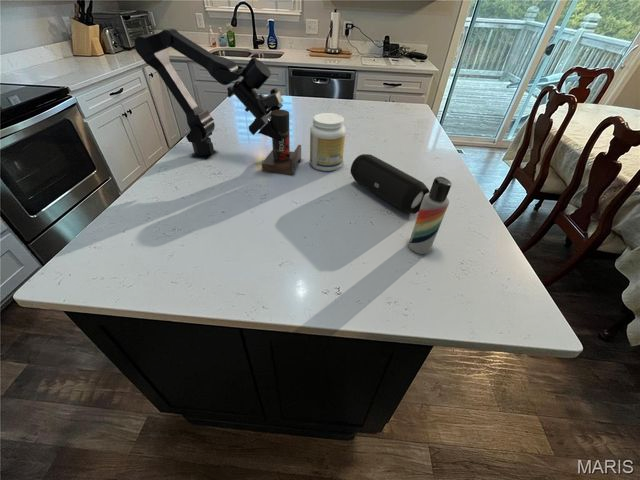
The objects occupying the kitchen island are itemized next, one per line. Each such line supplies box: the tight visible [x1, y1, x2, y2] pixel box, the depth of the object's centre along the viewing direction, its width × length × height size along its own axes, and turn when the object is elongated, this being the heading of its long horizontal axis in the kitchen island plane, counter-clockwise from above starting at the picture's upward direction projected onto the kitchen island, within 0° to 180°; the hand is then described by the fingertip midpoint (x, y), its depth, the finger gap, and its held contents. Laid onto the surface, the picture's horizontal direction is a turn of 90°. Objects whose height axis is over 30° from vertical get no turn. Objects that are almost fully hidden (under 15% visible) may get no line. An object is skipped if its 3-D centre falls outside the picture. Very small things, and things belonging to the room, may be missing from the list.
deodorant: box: [271, 109, 291, 160], centre depth 100 cm, size 6×6×15 cm
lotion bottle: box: [408, 176, 453, 255], centre depth 70 cm, size 6×6×20 cm
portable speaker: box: [350, 153, 430, 215], centre depth 92 cm, size 26×10×10 cm, turn 37°
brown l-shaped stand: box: [261, 144, 302, 176], centre depth 106 cm, size 11×12×6 cm
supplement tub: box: [309, 112, 346, 172], centre depth 104 cm, size 12×12×17 cm
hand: (284, 137), depth 100 cm, fingers closed on deodorant, 6 cm apart
